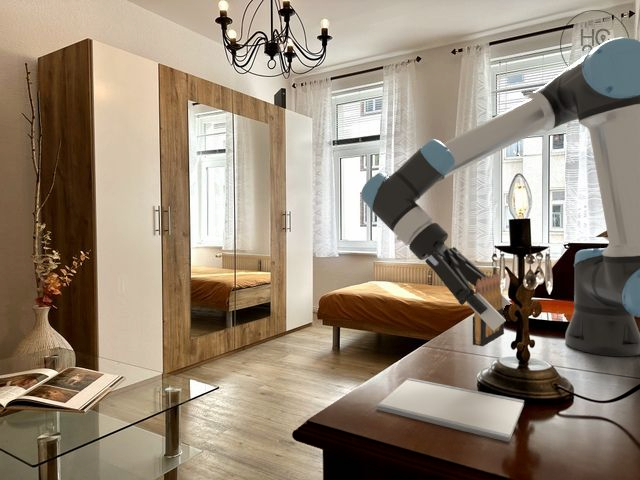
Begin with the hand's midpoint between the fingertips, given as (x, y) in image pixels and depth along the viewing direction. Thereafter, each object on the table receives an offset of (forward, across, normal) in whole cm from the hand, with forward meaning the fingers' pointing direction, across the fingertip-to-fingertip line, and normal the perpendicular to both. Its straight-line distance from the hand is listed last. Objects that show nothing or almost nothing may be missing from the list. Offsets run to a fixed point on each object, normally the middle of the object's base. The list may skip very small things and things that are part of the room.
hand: (505, 318), depth 79 cm
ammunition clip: (+1, 0, -5) cm, 5 cm away
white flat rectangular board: (+4, +15, -13) cm, 20 cm away
